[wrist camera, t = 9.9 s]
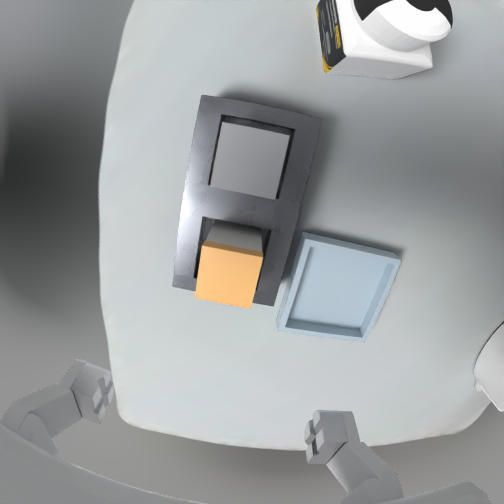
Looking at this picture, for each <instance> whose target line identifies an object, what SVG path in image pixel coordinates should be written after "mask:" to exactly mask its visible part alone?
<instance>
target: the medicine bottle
mask: <svg viewBox="0 0 504 504" xmlns="http://www.w3.org/2000/svg"><path fill="white" fill-rule="evenodd" d="M316 12H317V18H318V25H319V32H320V40H321V48H322V57H323V66H324V72H325V73H326V74H339V75H355V76H367V77H377V78H386V79H394V80H395V79H399V78H402V77H405V76H408V75H411V74H414V73H417V72H421V71H424V70H427V69H431V68H432V67H433V60H432V53H431V47H430V43H433V42H435V41H437V40H440V39H442V38H444V37H445V36H447V35H448V33H449V32H450V30H451V28H452V23H453V16H452V10H451V6H450V3H449V1H448V0H320V1H319V3H318V5H317V8H316Z"/></svg>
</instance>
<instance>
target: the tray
mask: <svg viewBox="0 0 504 504" xmlns="http://www.w3.org/2000/svg"><path fill="white" fill-rule="evenodd" d="M400 263H401V260H400V259H399V258H398V257H397V256H396V255H395V254H394V253H393V252H389V251H385V250H381V249H376V248H372V247H368V246H364V245H359V244H355V243H351V242H347V241H342V240H338V239H333V238H329V237H325V236H320V235H316V234H311V233H306V232H302V234H301V238H300V242H299V245H298V249H297V252H296V256H295V259H294V263H293V266H292V270H291V273H290V277H289V280H288V284H287V287H286V290H285V294H284V297H283V300H282V304H281V307H280V310H279V314H278V317H277V329H278V331H281V332H288V333H294V334H301V335H308V336H316V337H323V338H331V339H339V340H347V341H356V342H366V340H367V338H368V336H369V334H370V332H371V330H372V328H373V326H374V324H375V321H376V319H377V317H378V315H379V313H380V311H381V308H382V306H383V304H384V302H385V299H386V297H387V295H388V293H389V290H390V288H391V286H392V283H393V281H394V278H395V276H396V273H397V271H398V268H399V266H400Z"/></svg>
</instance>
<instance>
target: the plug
mask: <svg viewBox="0 0 504 504" xmlns="http://www.w3.org/2000/svg"><path fill="white" fill-rule="evenodd" d="M262 260H263V252H262V234H261V228H259V227H254V226H249V225H244V224H239V223H234V222H229V221H224V220H219V219H216V220H215V222H214V224H213V226H212V228H211V230H210V232H209V234H208V236H207V238H206V241H204V243H203V245H202V249H201V256H200V263H199V270H198V278H197V285H196V293H195V298H198V299H203V300H208V301H213V302H218V303H223V304H228V305H233V306H238V307H244V308H249V309H251V306H252V302H253V297H254V293H255V289H256V285H257V281H258V277H259V273H260V268H261V264H262Z"/></svg>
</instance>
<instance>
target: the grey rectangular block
mask: <svg viewBox="0 0 504 504" xmlns="http://www.w3.org/2000/svg"><path fill="white" fill-rule="evenodd" d="M289 137H290V136H289V135H285V134H280V133H276V132H271V131H267V130H262V129H257V128H252V127H247V126H242V125H236V124H231V123H225V122H222V127H221V132H220V137H219V142H218V147H217V152H216V157H215V162H214V168H213V173H212V178H211V184H210V187H214V188H219V189H225V190H230V191H235V192H240V193H245V194H250V195H255V196H259V197H264V198H269V199H273V200H275V198H276V193H277V189H278V185H279V181H280V176H281V172H282V168H283V163H284V159H285V155H286V150H287V146H288V141H289Z"/></svg>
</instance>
